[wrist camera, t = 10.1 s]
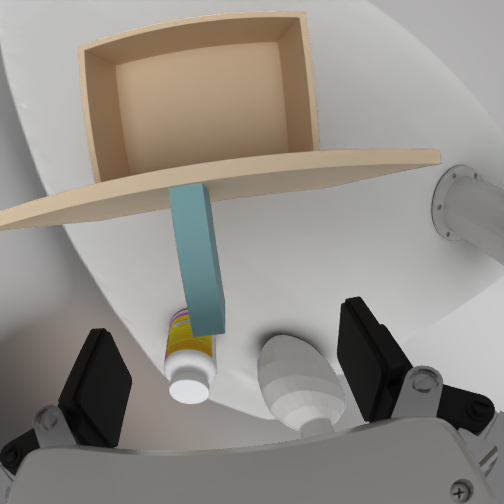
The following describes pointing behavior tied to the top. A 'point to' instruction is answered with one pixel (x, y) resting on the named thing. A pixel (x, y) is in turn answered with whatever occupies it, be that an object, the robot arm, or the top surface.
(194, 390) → the supplement bottle
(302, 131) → the carton
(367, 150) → the lid
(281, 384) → the soap bottle
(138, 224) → the top surface
